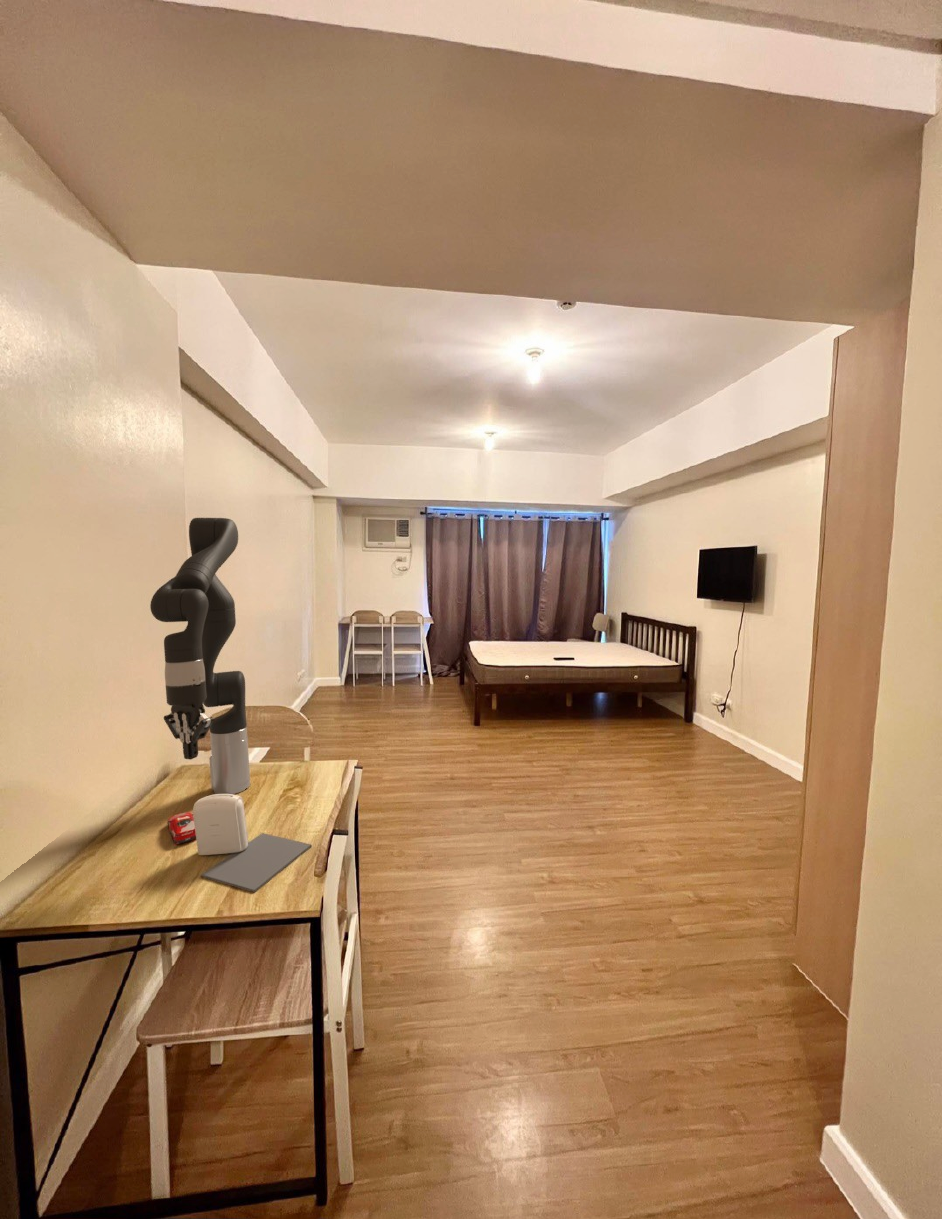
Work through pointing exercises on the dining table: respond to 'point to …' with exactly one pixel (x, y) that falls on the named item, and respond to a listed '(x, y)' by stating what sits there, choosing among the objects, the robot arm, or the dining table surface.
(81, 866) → the dining table surface
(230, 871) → the gray mat
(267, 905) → the dining table surface
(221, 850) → the photo printer
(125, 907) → the dining table surface
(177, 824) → the race car
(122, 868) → the dining table surface
